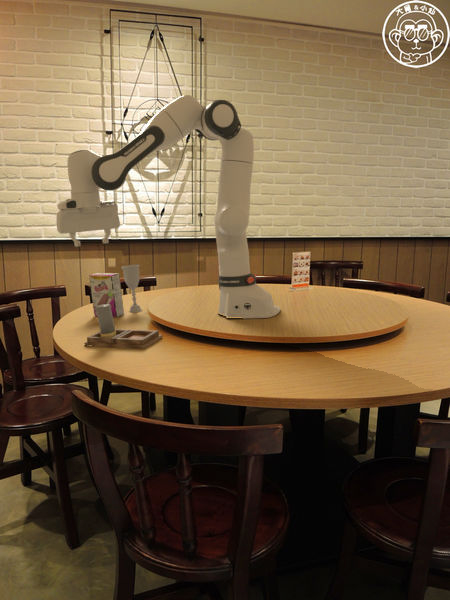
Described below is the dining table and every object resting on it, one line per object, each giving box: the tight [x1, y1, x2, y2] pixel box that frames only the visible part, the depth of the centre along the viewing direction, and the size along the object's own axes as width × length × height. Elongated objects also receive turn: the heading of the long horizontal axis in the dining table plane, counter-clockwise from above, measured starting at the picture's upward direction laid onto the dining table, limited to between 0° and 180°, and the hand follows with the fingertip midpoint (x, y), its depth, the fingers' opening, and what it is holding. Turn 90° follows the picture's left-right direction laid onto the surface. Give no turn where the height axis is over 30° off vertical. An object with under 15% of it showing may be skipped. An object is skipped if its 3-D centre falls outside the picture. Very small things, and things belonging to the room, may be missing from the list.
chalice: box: [121, 264, 143, 313], centre depth 182 cm, size 7×7×18 cm
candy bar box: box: [88, 272, 125, 318], centre depth 177 cm, size 11×5×16 cm, turn 65°
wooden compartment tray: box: [84, 328, 163, 350], centre depth 142 cm, size 21×11×2 cm, turn 69°
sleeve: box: [96, 304, 117, 338], centre depth 143 cm, size 5×5×10 cm
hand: (92, 244), depth 153 cm, fingers open, 8 cm apart
